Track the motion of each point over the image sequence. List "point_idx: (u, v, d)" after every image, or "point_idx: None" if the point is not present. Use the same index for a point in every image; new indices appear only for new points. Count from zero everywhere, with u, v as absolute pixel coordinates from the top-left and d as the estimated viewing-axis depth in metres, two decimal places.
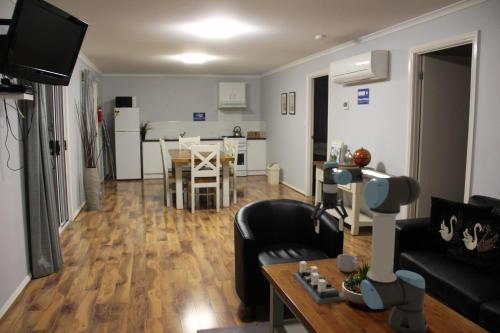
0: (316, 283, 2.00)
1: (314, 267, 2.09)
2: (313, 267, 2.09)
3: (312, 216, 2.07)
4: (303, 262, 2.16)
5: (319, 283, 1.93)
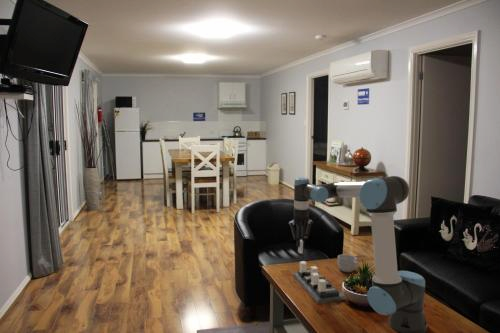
0: (316, 283, 2.00)
1: (314, 267, 2.09)
2: (313, 267, 2.09)
3: None
4: (303, 262, 2.16)
5: (319, 283, 1.93)
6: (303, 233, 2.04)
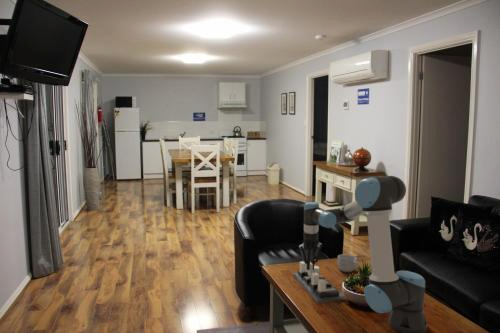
0: (316, 283, 2.00)
1: (316, 267, 2.10)
2: (315, 267, 2.10)
3: None
4: (303, 262, 2.16)
5: (319, 283, 1.93)
6: (313, 256, 2.07)
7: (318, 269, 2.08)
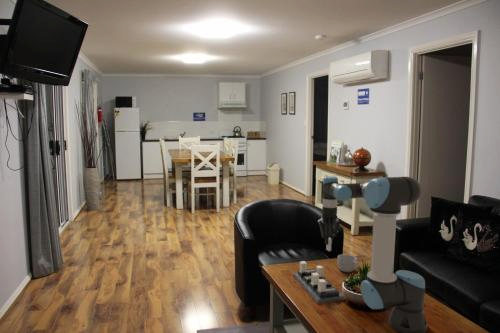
0: (316, 283, 2.00)
1: (319, 266, 2.10)
2: (318, 266, 2.10)
3: None
4: (303, 262, 2.16)
5: (319, 283, 1.93)
6: (331, 231, 2.08)
7: (322, 269, 2.09)
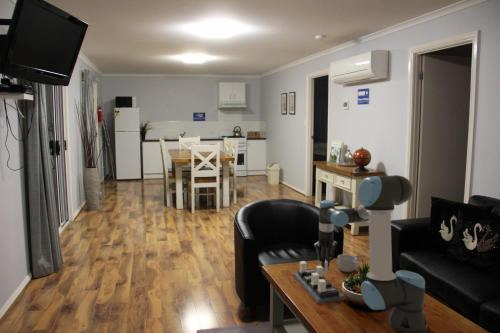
0: (316, 283, 2.00)
1: (319, 266, 2.10)
2: (318, 266, 2.10)
3: None
4: (303, 262, 2.16)
5: (319, 283, 1.93)
6: (328, 254, 2.09)
7: (321, 269, 2.09)
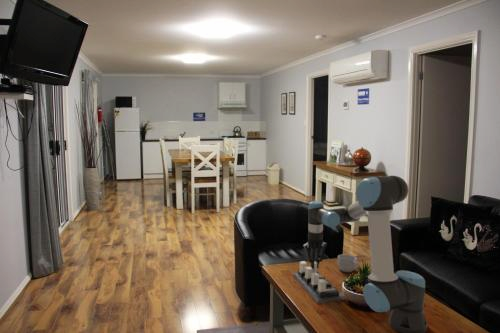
0: (316, 283, 2.00)
1: (309, 268, 2.09)
2: (308, 268, 2.09)
3: None
4: (303, 262, 2.16)
5: (319, 283, 1.93)
6: (317, 255, 2.08)
7: (311, 270, 2.07)
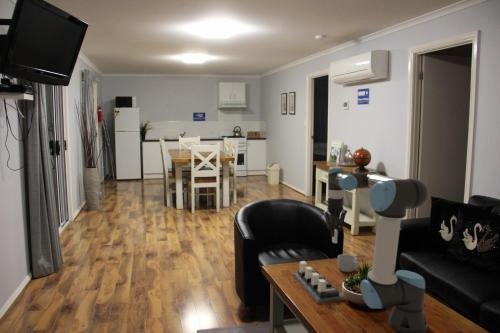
0: (316, 283, 2.00)
1: (309, 268, 2.09)
2: (308, 268, 2.09)
3: None
4: (303, 262, 2.16)
5: (319, 283, 1.93)
6: (337, 222, 2.04)
7: (311, 270, 2.07)
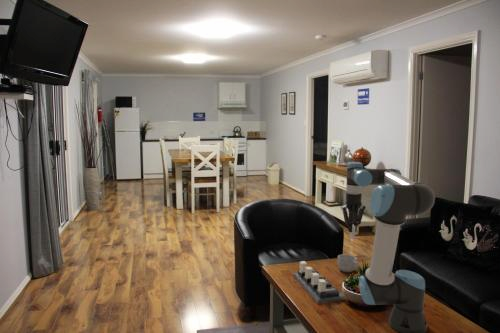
0: (316, 283, 2.00)
1: (309, 268, 2.09)
2: (308, 268, 2.09)
3: None
4: (303, 262, 2.16)
5: (319, 283, 1.93)
6: (355, 218, 2.01)
7: (311, 270, 2.07)
